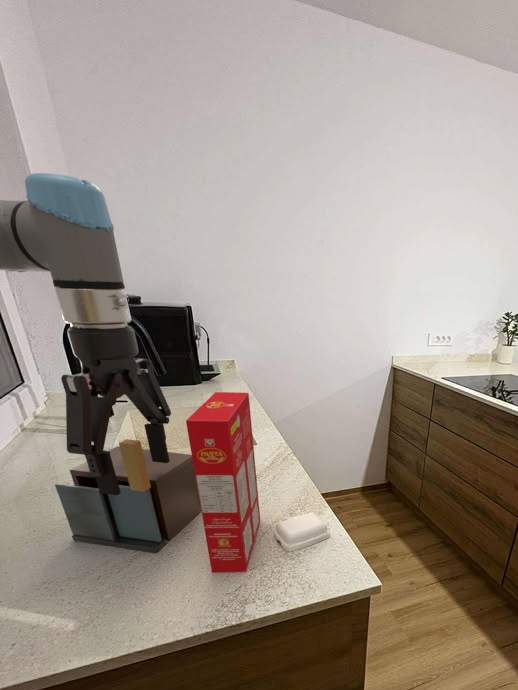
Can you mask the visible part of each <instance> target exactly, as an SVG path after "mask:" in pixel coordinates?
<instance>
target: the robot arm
mask: <svg viewBox="0 0 518 690" xmlns="http://www.w3.org/2000/svg"><path fill="white" fill-rule="evenodd" d="M24 184H25V190H26V191H25V192H26V199H27V200H5V199H0V271H4V272H17V273H27V272H34V273H35V272H38V273H39V272H42V273H44V272H47V273H50V275H51V279H52V283H53V286H54V290H55V293H56V297H57V301H58V304H59V308H60V312H61V316H62V319H63V321H64V322H65V323H66V324H70V326H69V327H68V329H67V330H66V333H67V337H68V341H69V343H70V346H71V350H72V354H73V355H74V356H75V358H77V359H78V360H79V361H80V363H81V372H80V373H77V374H62V375H61V377H60V378H61V379H60V380H61V383H62V387H63V389H64V393H65V418H66V420H65V422H66V423H65V424H66V425H65V426H66V429H65V430H66V451H67V453H69V454H75V455H81V456H82V455H83V456H84V457H85V460H86V461H87V463H88V467H89V470H90V473H91V474H92V475H93V476H95V478H96V481H97V484H98V488H99V491H100V493H103V494H110V495H118V494H120V493H121V492H120V488H119V484H118V481H117V477H116V474H115V470H114V466H113V463H112V459H111V456H110V452H109V450H105V449H104V448H105V444H106V439H107V431H108V429H109V423H110V418H111V412H112V408H113V406H115V405H116V404H117V400H118V399H119V398H121V397H123V396H124V395H125V396H126V397H127V398H128V399H129V401H130V402H131V403H132V404H133V405H134V406H135V407H136V409H137V410H138V411H139V413H140V414H141V415H142V416H143V418H144V419H145V420H146V421H147V423H145V424H143V425H144V430H145V434H146V439H147V443H148V448H149V450H150V453H151V457H152V462H161V463H168V462H170V460H169V455H168V452H169V451H168V446H167V442H166V441H167V434H166V430H165V425H168V424H169V423H170V417H171V415H172V411H171V407H170V406H169V404H168V401H167V400H166V397H165V395H164V392H163V391H162V388H161V386H160V384H159V382H158V379H157V377H156V375H155V371H154V366H153V361H152V360H151V359H149V358H139V357H138V358H137V357H136V356H137V355H138V354H139V347H138V342H137V337H136V333H135V329H134V328H133V327H132V326H130V325H128V323H129V324H130V323H131V322H132V316H131V312H130V307H129V302H128V297H127V294H126V293H127V292H126V290H125V289H126V286H125V283H124V276H123V273H122V267H121V263H120V258H119V252H118V248H117V243H116V238H115V234H114V233H115V232H114V231H115V228H114V224H113V223H112V222H113V221H112V219H111V216H110V213H109V208H108V204H107V201H106V197H105V195H104V193H103V191H102V189H101V188H100V187H99V186H98V185H96V184H95V183H93V182H92V181H89V180H86V179H83V178H78V177H76V176H70V175H64V174H58V173H49V172H47V173H46V172H34V173H30V174H28V175H27V176H26V177H25V179H24ZM164 424H165V425H164ZM92 443H93V444H92Z"/></svg>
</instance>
